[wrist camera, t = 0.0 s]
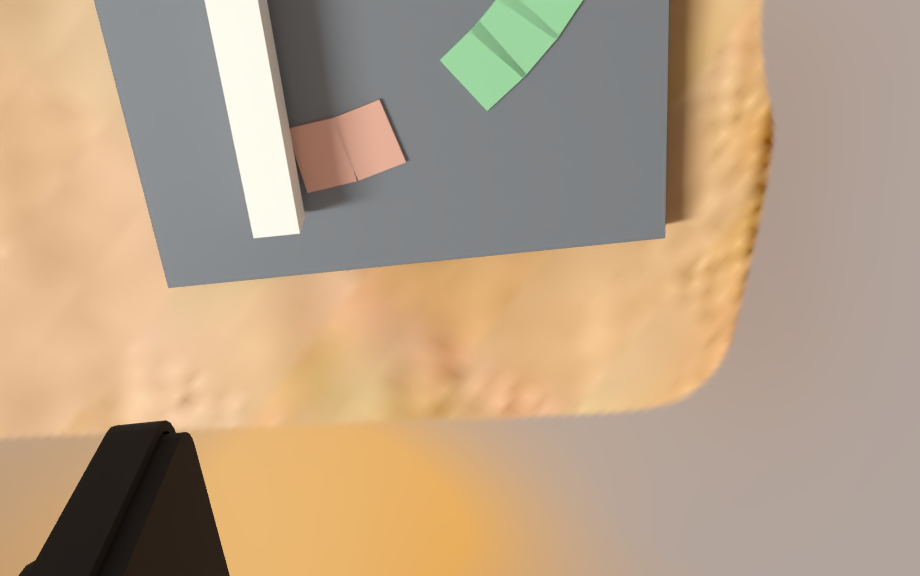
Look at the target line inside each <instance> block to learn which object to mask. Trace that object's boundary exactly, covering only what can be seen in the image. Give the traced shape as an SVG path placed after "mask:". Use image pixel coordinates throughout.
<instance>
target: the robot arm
mask: <svg viewBox="0 0 920 576" xmlns="http://www.w3.org/2000/svg"><path fill="white" fill-rule="evenodd" d="M19 576H230V575H229V572H228V568H227V564H226V560H225V557H224V553H223V550H222V545H221V542H220V538H219V534H218V530H217V527H216V523H215V520H214V516H213V512H212V508H211V504H210V501H209V497H208V493H207V489H206V486H205V482H204V478H203V474H202V471H201V467H200V463H199V460H198V456H197V452H196V448H195V445H194V442H193V439H192V437H191V436H190V434H189V433H187V432H182V433H176V432H175V429H174V428H173V426H172V425H171V423H170V422H168V421H156V422H146V423H136V424H127V425H117V426H113V427H111V428H110V429H109V430H108V432H107V433H106V435H105V436H104V438H103V440H102V442H101V444H100V445H99V447H98V449H97V451H96V453H95V455H94V456H93V458H92V460H91V462H90V463H89V465H88V467H87V469H86V471H85V472H84V474H83V476H82V478H81V480H80V481H79V483H78V485H77V487H76V489H75V491H74V492H73V494H72V496H71V498H70V499H69V501H68V503H67V505H66V506H65V508H64V510H63V512H62V514H61V516H60V517H59V519H58V521H57V523H56V525H55V527H54V528H53V530H52V532H51V534H50V535H49V537H48V539H47V541H46V543H45V544H44V546H43V548H42V550H41V552H40V554H39V555H38V557H37V559H36V560H35V561H33V562H32V563H30V564H28V565H27V566H26V567H25V568H24V569H23V571H22V572H21V573H20V574H19Z"/></svg>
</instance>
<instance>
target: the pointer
mask: <svg viewBox="0 0 920 576" xmlns="http://www.w3.org/2000/svg"><path fill="white" fill-rule="evenodd" d="M205 5H206V10H207V15H208V20H209V25H210V30H211V34H212V39H213V44H214V49H215V54H216V59H217V64H218V68H219V73H220V78H221V83H222V88H223V93H224V98H225V102H226V107H227V112H228V117H229V122H230V127H231V132H232V136H233V141H234V146H235V151H236V156H237V161H238V166H239V170H240V175H241V180H242V185H243V190H244V195H245V200H246V204H247V209H248V214H249V219H250V224H251V229H252V234H253V238H261V237H271V236H281V235H291V234H300V232H301V229H302V226H303V222H304V219H305V213H304V208H303V202H302V196H301V191H300V185H299V179H298V174H297V168H296V162H295V157H294V151H293V145H292V140H291V134H290V128H289V123H288V117H287V111H286V106H285V100H284V94H283V88H282V83H281V77H280V71H279V66H278V60H277V54H276V49H275V43H274V37H273V32H272V26H271V20H270V15H269V9H268V3H267V0H205Z"/></svg>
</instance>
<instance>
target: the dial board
mask: <svg viewBox="0 0 920 576" xmlns="http://www.w3.org/2000/svg"><path fill="white" fill-rule="evenodd" d="M94 2H95V6H96V10H97V14H98V18H99V22H100V25H101V29H102V33H103V37H104V41H105V45H106V49H107V52H108V56H109V60H110V64H111V68H112V72H113V76H114V80H115V83H116V87H117V91H118V95H119V99H120V103H121V107H122V110H123V114H124V118H125V122H126V126H127V130H128V134H129V138H130V141H131V145H132V149H133V153H134V157H135V161H136V165H137V168H138V172H139V176H140V180H141V184H142V188H143V192H144V196H145V199H146V203H147V207H148V211H149V215H150V219H151V223H152V226H153V230H154V234H155V238H156V242H157V246H158V250H159V254H160V257H161V261H162V265H163V269H164V273H165V277H166V281H167V284H168V288H173V287H183V286H193V285H203V284H213V283H223V282H233V281H243V280H253V279H263V278H273V277H283V276H293V275H303V274H313V273H323V272H333V271H343V270H353V269H362V268H372V267H382V266H392V265H402V264H412V263H422V262H432V261H442V260H452V259H462V258H472V257H482V256H492V255H502V254H512V253H522V252H532V251H542V250H552V249H562V248H572V247H582V246H592V245H601V244H611V243H621V242H631V241H641V240H651V239H661V238H665V216H666V155H667V94H668V32H669V0H267V3H268V9H269V15H270V20H271V26H272V32H273V37H274V43H275V49H276V54H277V60H278V66H279V71H280V77H281V83H282V88H283V94H284V100H285V106H286V111H287V117H288V123H289V128H290V134H291V140H292V145H293V151H294V157H295V162H296V168H297V174H298V179H299V185H300V191H301V196H302V202H303V208H304V213H305V219H304V222H303V226H302V229H301V232H300V234H291V235H281V236H271V237H261V238H253V234H252V229H251V224H250V219H249V214H248V209H247V204H246V200H245V195H244V190H243V185H242V180H241V175H240V170H239V166H238V161H237V156H236V151H235V146H234V141H233V136H232V132H231V127H230V122H229V117H228V112H227V107H226V102H225V98H224V93H223V88H222V83H221V78H220V73H219V68H218V64H217V59H216V54H215V49H214V44H213V39H212V34H211V30H210V25H209V20H208V15H207V10H206V5H205V0H94Z"/></svg>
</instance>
